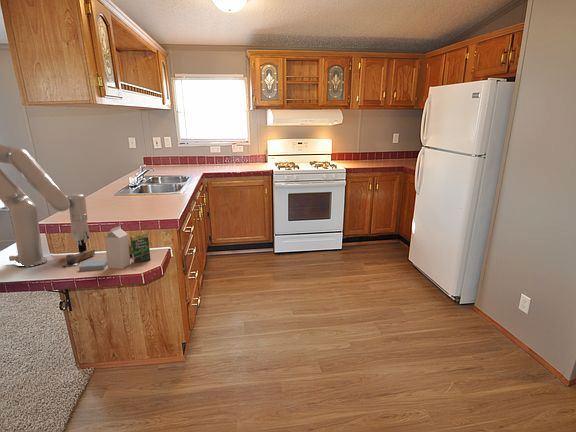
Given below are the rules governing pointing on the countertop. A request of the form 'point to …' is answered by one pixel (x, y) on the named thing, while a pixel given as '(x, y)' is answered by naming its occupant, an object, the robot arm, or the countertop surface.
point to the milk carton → (117, 248)
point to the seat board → (93, 265)
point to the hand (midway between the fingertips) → (82, 251)
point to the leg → (80, 256)
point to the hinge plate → (71, 264)
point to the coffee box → (140, 248)
